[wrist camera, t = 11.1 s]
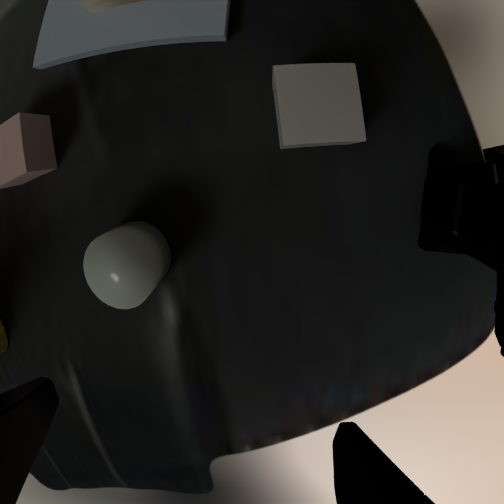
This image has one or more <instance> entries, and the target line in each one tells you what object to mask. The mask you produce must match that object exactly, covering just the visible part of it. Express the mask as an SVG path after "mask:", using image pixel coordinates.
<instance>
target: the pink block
mask: <svg viewBox="0 0 504 504" xmlns="http://www.w3.org/2000/svg"><path fill="white" fill-rule="evenodd" d="M55 169H57V163H56V157H55V151H54V145H53V138H52V130H51V122H50V116H48V115H39V114H30V113H20V112H19V113H18V114H16V115H15V116H13V117H12V118H10V119H9V120H7V121H6V122H4V123H3V124H1V125H0V189H2V188H7V187H12V186H17V185H22V184H24V183H26V182H28V181H30V180H32V179H35V178H37V177H39V176H41V175H43V174H46V173H48V172H50V171H52V170H55Z"/></svg>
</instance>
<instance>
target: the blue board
mask: <svg viewBox="0 0 504 504" xmlns="http://www.w3.org/2000/svg"><path fill="white" fill-rule="evenodd" d="M229 10H230V0H145V1H139V2H134V3H129V4H124V5H120V6H115V7H111V8H107V9H103V10H99V11H95V12H91V11H90V10H88V9H87V8H86V7H84V6H83V5H81V4H80V3H78V2H77V1H75V0H49V2H48V5H47V8H46V12H45V15H44V19H43V23H42V27H41V31H40V35H39V39H38V44H37V48H36V53H35V58H34V64H33V67H34V68H37V69H44V68H47V67H51V66H54V65H58V64H61V63H65V62H69V61H72V60H76V59H81V58H85V57H89V56H94V55H98V54H103V53H109V52H114V51H120V50H126V49H132V48H139V47H146V46H154V45H163V44H174V43H187V42H207V41H227V30H228V20H229Z"/></svg>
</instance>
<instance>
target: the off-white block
mask: <svg viewBox="0 0 504 504" xmlns="http://www.w3.org/2000/svg"><path fill="white" fill-rule="evenodd" d="M272 85H273V92H274V100H275V108H276V116H277V124H278V132H279V140H280V149H285V148H297V147H310V146H326V145H346V144H353V143H358V142H363V141H366V135H365V126H364V118H363V111H362V103H361V96H360V90H359V84H358V78H357V72H356V66H355V63H310V64H290V65H277V66H273V77H272Z"/></svg>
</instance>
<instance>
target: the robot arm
mask: <svg viewBox="0 0 504 504" xmlns="http://www.w3.org/2000/svg"><path fill="white" fill-rule="evenodd" d="M436 153H437V154H438V159H437V160H436V158H435V154H436ZM483 153H484V158H485V161H482V160H479V159H476V158H472V157H469V156H465V155H461V154H458V153H454V152H450V151H446V150H442V149H432V150H431V151H430V152H429V159H428V171H427V178H426V179H425V183H424V193H423V201H422V209H421V216H420V218H421V220H422V222H421V228H420V234H419V240H418V244H419V247H420V248H422V249H423V250H425V251H435V252H446V253H457V254H468V255H469V256H471V257H473V258H475V259H476V260H478V261H480V262H481V263H483V264H485V265H487V266H488V267H490V268H492V269H493V270H495V271H497V295H496V300H495V305H494V311H495V313H496V317H495V335H496V337H497V340H498V342H499V345H500V346H501V355H502V356H503V357H504V145H501V146H496V147H492V148H487V149H483ZM486 161H487V162H486ZM426 239H428V243H427V244H426V245H424V242H425V240H426ZM58 403H59V398H58V395H57V392H56V390H55V387H54V384H53V382H52V381H51V380H50V379H47V378H44V377H39V378H37V379H35V380H32V381H30V382H28V383H25V384H23V385H21V386H18V387H16V388H14V389H11V390H9V391H7V392H4V393H2V394H0V504H16V501H17V499H18V497H19V494H20V492H21V490H22V487H23V485H24V483H25V480H26V478H27V476H28V474H29V472H30V469H31V467H32V465H33V463H34V461H35V459H36V457H37V454H38V452H39V450H40V448H41V446H42V444H43V442H44V440H45V438H46V435H47V433H48V430H49V427H50V425H51V422H52V419H53V417H54V414H55V412H56V409H57V406H58ZM333 465H334V488H335V495H336V501H337V504H435V503H434V502H433V501H431V500H430V499H429V498H428V497H427V496H426V495H424V493H423V492H422V491H421V490H420V489H419V488H418V487H417V486H416V485H415V484H414V483H413V482H412V481H411V480H410V479H409V478H408V477H407V476H406V475H405V474H404V473H403V472H402V471H401V470H400V469H399V468H398V467H397V466H396V465H395V464H394V463H393V462H392V461H391V460H390V459H389V458H388V457H387V456H386V455H385V454H384V453H383V452H382V451H381V450H380V449H379V447H377V445H376V444H374V443H373V441H372V440H371V439H370V438H369V437H368V436H367V435H366V434H365V433H364V432H363V431H362V430H361V429H360V428H359V427H358V426H357V424H356V423H354V422H342V423H340V424H339V426H338V429H337V432H336V434H335V437H334V439H333Z"/></svg>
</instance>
